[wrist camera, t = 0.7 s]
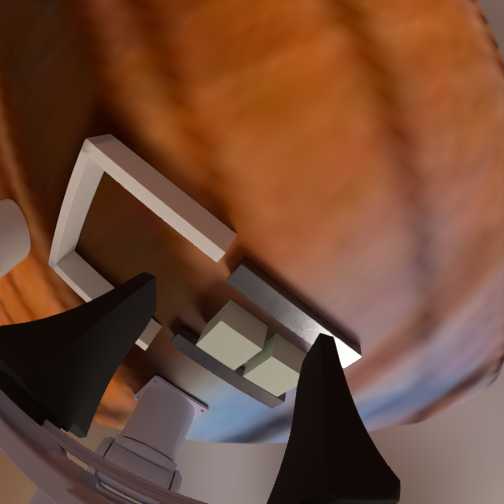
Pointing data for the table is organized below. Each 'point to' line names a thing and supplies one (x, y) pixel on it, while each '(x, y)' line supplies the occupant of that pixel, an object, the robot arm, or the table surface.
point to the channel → (282, 309)
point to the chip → (233, 336)
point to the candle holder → (12, 236)
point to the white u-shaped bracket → (148, 192)
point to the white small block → (275, 366)
